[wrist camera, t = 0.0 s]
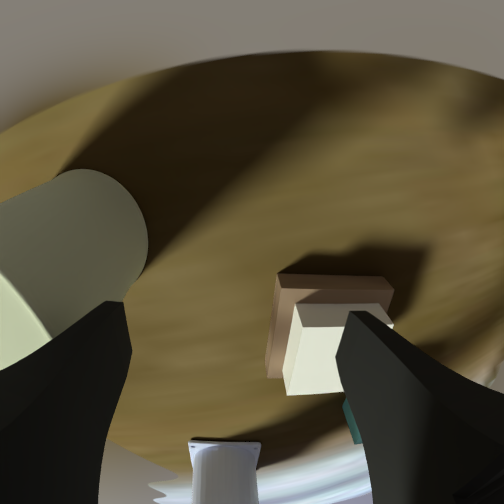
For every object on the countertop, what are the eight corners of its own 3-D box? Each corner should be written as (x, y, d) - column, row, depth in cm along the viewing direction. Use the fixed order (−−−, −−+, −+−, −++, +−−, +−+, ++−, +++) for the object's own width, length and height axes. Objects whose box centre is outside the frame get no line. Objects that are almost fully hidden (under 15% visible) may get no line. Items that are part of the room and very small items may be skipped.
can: (127, 150, 16) (-16, 203, 5) (165, 285, 20) (116, 439, 9) (21, 190, 16) (-103, 261, 5) (62, 301, 20) (-13, 415, 9)
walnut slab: (354, 353, 24) (363, 373, 22) (264, 356, 24) (267, 378, 21) (380, 273, 21) (394, 289, 19) (276, 269, 20) (281, 288, 18)
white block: (356, 366, 21) (366, 388, 19) (282, 370, 21) (287, 395, 19) (378, 303, 19) (393, 324, 17) (295, 303, 19) (302, 327, 16)
